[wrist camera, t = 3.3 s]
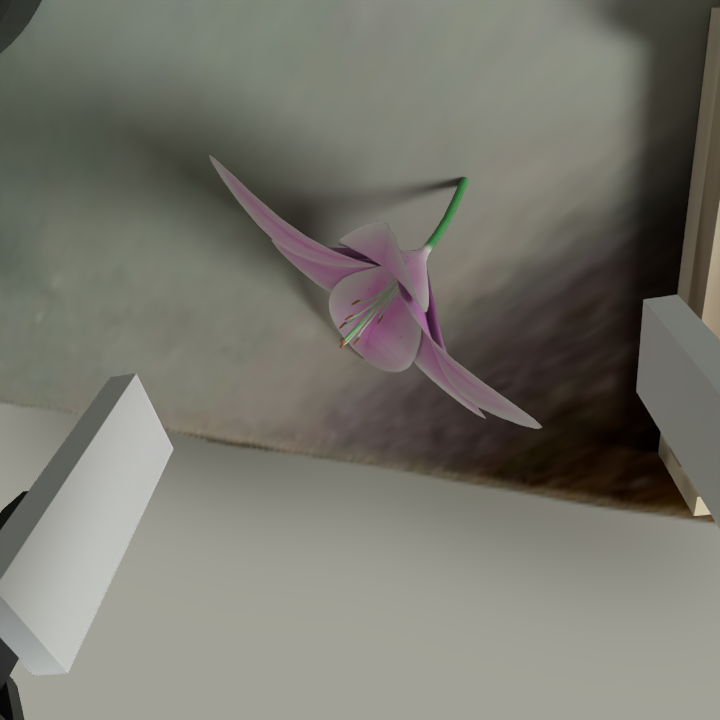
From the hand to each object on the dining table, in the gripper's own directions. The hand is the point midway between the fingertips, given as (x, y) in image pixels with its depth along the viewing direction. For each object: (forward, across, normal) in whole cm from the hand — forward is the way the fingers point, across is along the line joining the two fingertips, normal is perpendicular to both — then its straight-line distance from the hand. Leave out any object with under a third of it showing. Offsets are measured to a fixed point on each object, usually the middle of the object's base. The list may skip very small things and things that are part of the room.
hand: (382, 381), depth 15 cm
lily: (+10, 0, 0) cm, 10 cm away
